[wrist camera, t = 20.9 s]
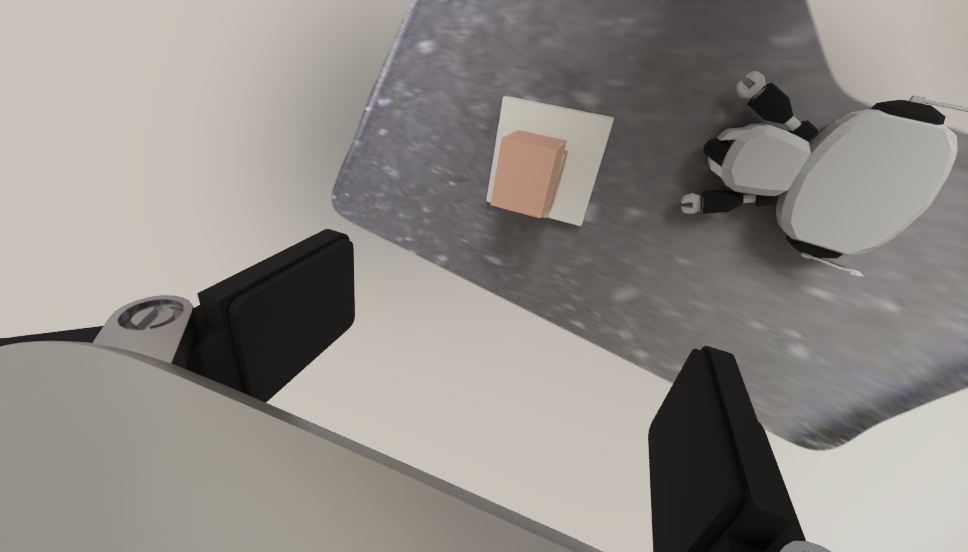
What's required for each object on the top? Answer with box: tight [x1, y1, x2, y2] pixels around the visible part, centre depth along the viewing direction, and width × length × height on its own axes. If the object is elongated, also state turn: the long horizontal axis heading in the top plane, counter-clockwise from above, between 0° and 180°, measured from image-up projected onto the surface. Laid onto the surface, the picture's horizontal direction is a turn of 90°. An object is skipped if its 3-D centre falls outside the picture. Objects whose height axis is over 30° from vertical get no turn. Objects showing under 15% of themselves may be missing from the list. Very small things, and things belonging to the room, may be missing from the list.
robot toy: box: [681, 71, 968, 276], centre depth 30 cm, size 12×4×15 cm
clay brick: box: [491, 130, 567, 218], centre depth 30 cm, size 5×4×5 cm
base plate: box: [486, 96, 615, 226], centre depth 37 cm, size 10×10×2 cm
